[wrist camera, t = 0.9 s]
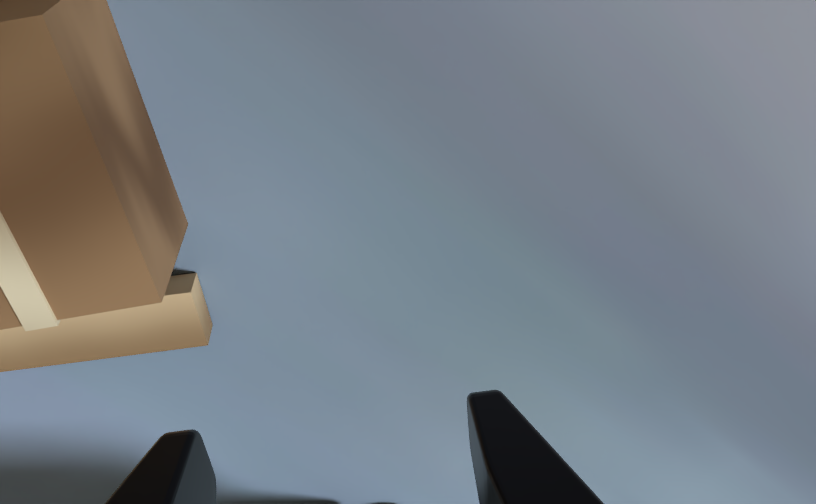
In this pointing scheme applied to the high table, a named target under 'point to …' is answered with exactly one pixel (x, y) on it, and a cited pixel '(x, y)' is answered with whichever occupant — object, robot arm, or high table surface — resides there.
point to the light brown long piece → (114, 331)
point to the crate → (77, 170)
